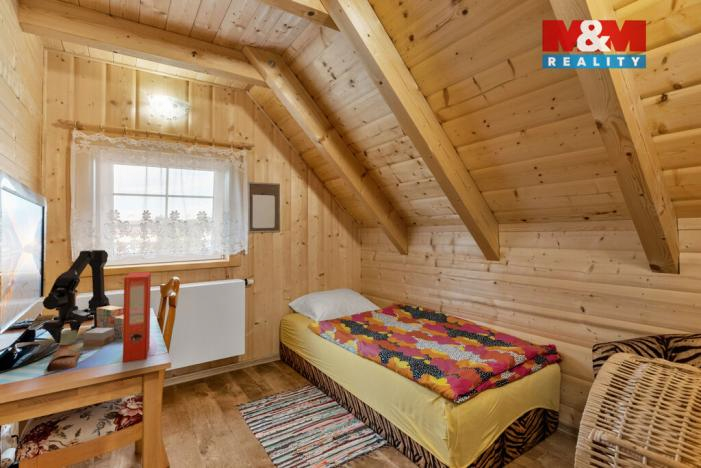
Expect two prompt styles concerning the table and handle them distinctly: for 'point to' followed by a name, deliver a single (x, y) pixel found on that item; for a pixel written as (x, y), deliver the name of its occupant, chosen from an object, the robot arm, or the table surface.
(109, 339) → the walnut base block
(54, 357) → the sunglasses case
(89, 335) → the grey top block
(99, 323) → the stack of blocks
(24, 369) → the table surface
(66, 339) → the sage cube
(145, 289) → the file binder
